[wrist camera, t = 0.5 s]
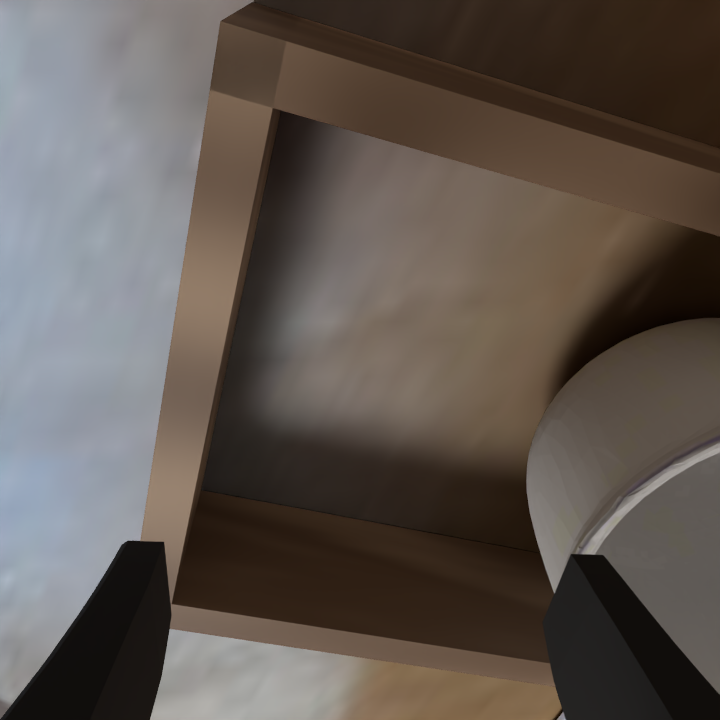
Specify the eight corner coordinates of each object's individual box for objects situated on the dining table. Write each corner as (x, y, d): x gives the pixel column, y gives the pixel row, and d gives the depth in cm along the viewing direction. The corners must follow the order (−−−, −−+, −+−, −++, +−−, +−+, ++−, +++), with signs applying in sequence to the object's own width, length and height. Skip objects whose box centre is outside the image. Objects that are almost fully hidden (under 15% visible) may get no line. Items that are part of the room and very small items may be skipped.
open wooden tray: (729, 609, 29) (796, 723, 25) (164, 507, 25) (127, 622, 21) (1046, 250, 20) (1236, 331, 16) (252, 2, 16) (220, 20, 12)
